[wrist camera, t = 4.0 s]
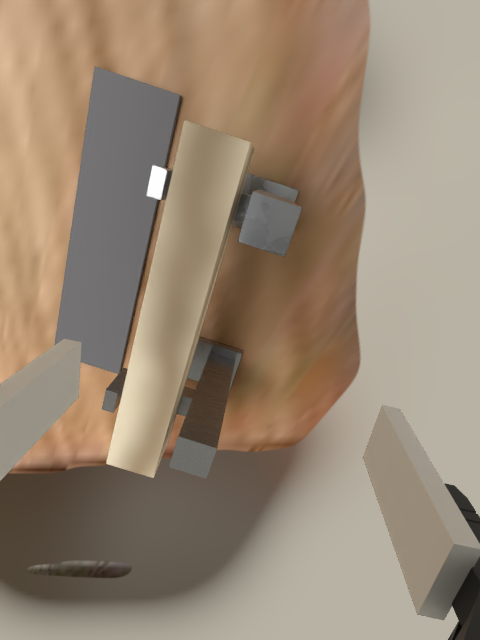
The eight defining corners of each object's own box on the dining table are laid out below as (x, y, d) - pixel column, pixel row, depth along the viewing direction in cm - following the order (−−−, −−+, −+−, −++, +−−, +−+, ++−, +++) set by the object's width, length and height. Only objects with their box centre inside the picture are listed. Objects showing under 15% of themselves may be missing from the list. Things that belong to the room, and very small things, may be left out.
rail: (128, 426, 35) (106, 463, 30) (200, 131, 26) (184, 120, 22) (169, 439, 35) (153, 478, 31) (254, 150, 26) (250, 142, 22)
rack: (145, 360, 44) (79, 450, 29) (194, 156, 36) (140, 134, 21) (230, 386, 44) (208, 489, 29) (298, 190, 36) (316, 193, 21)
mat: (56, 351, 45) (53, 353, 44) (97, 68, 34) (94, 66, 34) (120, 371, 45) (118, 374, 44) (181, 96, 34) (179, 94, 34)
